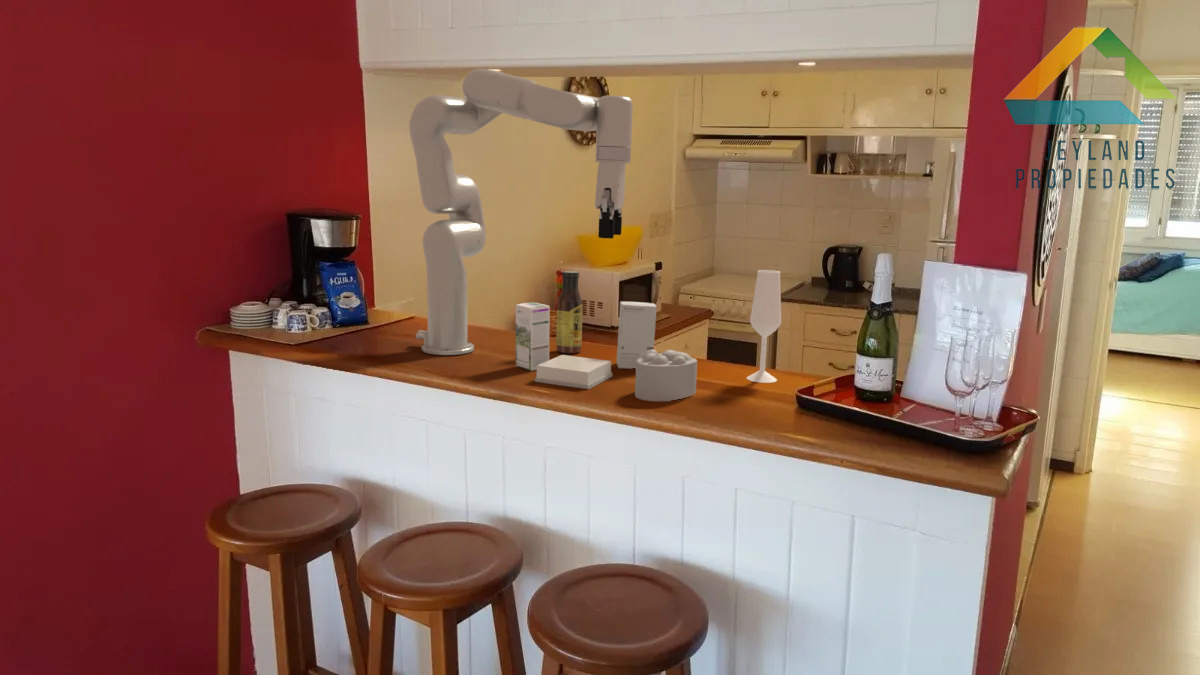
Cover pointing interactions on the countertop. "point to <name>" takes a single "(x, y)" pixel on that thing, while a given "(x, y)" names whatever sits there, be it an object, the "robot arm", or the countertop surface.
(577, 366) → the cream square tile
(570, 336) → the sauce bottle
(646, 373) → the lumpy-topped squat cylinder
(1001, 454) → the countertop surface
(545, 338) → the syrup box
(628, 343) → the skincare box
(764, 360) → the champagne flute
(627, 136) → the robot arm
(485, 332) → the countertop surface
